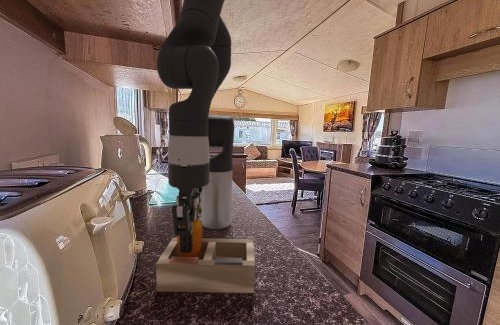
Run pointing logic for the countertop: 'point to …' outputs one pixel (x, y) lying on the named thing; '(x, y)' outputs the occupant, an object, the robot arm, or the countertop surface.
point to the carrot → (194, 239)
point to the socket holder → (208, 267)
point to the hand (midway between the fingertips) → (189, 243)
